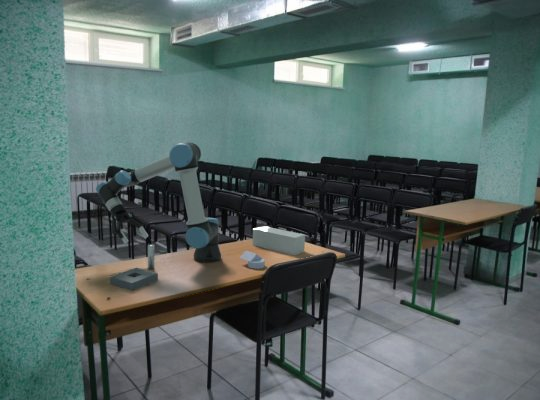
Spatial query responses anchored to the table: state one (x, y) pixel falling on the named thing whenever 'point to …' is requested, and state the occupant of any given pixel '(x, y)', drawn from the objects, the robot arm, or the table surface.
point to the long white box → (279, 240)
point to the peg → (150, 256)
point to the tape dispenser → (253, 260)
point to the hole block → (133, 278)
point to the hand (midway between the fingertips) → (137, 240)
